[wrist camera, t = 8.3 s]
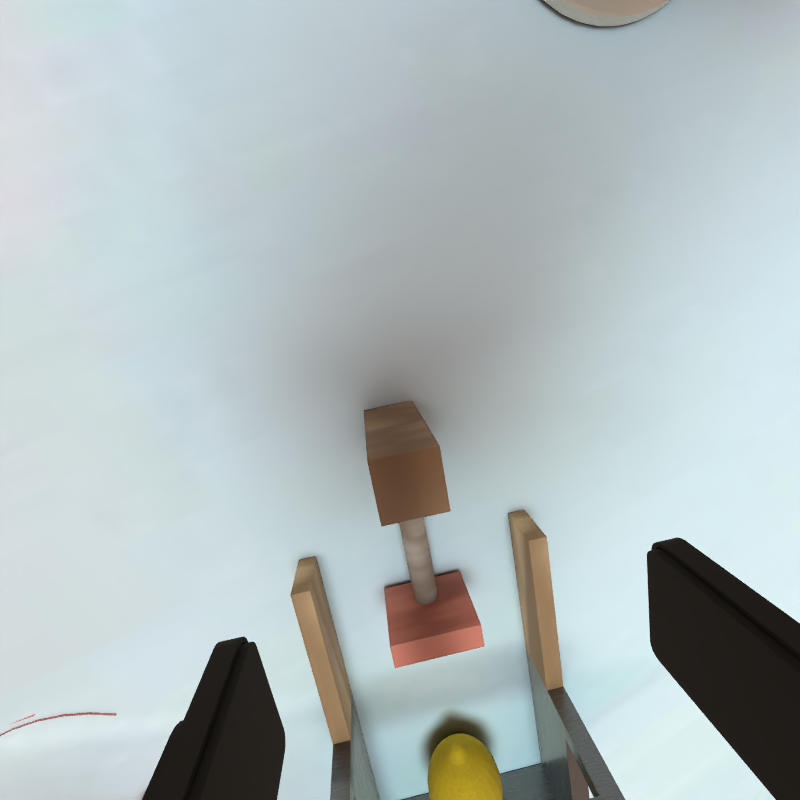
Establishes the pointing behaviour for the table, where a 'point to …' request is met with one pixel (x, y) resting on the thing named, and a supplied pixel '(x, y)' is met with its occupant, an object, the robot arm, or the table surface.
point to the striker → (417, 538)
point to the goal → (522, 789)
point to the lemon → (463, 771)
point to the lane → (326, 649)
